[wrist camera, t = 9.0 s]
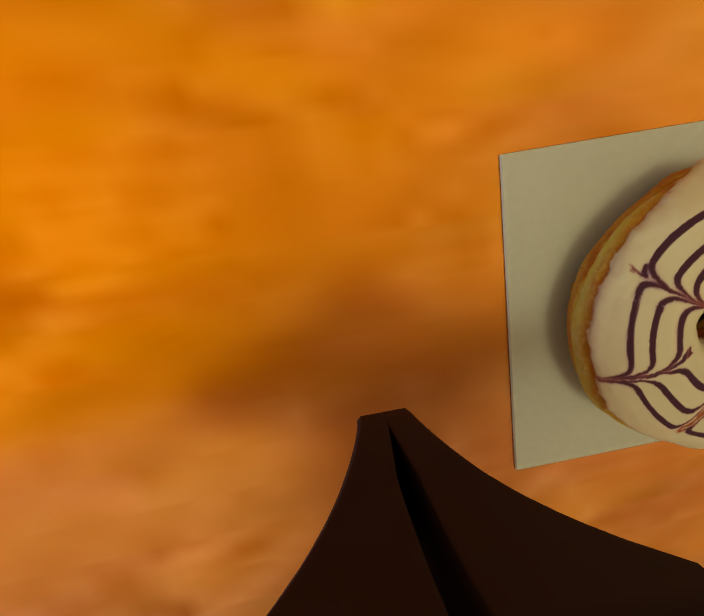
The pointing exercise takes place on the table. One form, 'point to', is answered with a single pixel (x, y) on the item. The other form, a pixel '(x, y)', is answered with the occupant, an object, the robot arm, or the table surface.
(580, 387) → the placemat
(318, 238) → the table surface
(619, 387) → the decorated donut
